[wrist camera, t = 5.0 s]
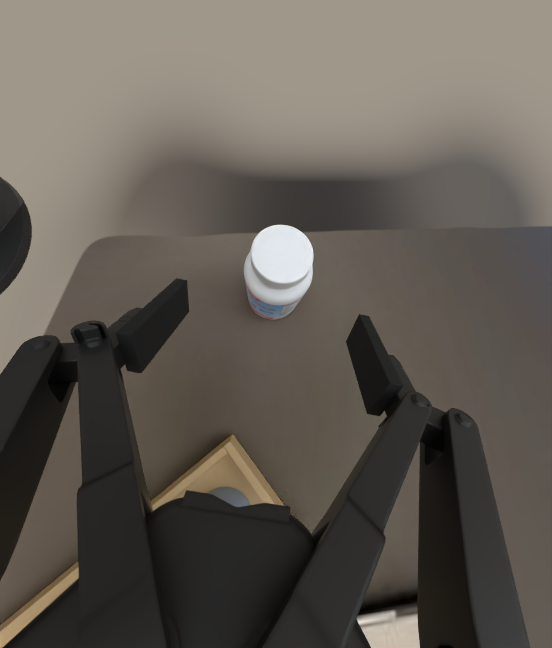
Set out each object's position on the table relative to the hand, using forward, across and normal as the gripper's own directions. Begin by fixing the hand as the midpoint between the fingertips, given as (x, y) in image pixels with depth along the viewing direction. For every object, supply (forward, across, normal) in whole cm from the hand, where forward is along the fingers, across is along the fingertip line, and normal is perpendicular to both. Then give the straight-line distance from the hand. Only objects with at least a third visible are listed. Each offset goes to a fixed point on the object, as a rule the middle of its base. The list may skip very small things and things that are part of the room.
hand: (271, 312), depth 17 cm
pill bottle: (+10, 0, -4) cm, 11 cm away
